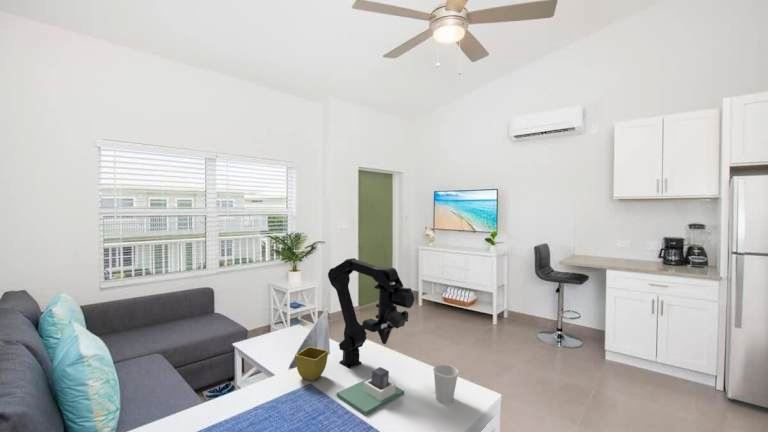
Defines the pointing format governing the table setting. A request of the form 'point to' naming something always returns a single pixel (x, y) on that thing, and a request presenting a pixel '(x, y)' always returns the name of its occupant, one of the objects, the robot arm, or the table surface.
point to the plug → (380, 378)
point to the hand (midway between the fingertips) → (384, 343)
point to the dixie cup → (445, 383)
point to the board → (369, 396)
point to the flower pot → (311, 362)
